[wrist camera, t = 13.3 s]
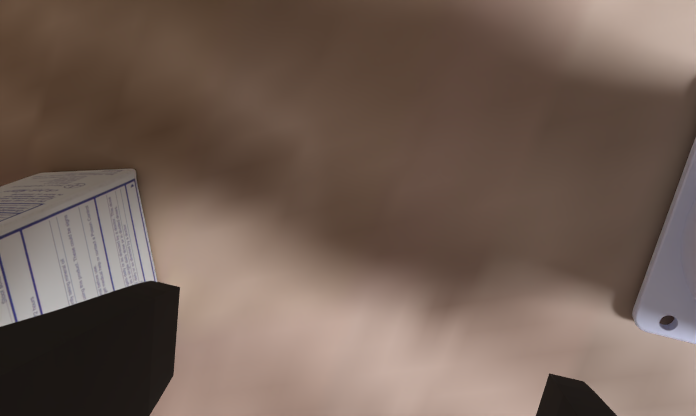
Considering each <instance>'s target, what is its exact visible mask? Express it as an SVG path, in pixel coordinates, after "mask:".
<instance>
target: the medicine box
mask: <svg viewBox="0 0 696 416" xmlns="http://www.w3.org/2000/svg"><path fill="white" fill-rule="evenodd" d="M147 281H155V282H157V278H156V272H155V267H154V262H153V258H152V253H151V248H150V243H149V238H148V233H147V228H146V223H145V219H144V214H143V209H142V204H141V199H140V195H139V190H138V185H137V179H136V170H135V169H110V170H88V171H67V172H45V173H39V174H35V175H32V176H29V177H26V178H23V179H21V180H18V181H15V182H12V183H9V184H6V185H3V186H0V327H1V326H5V325H8V324H11V323H15V322H18V321H22V320H25V319H28V318H32V317H35V316H38V315H42V314H45V313H49V312H52V311H55V310H58V309H62V308H65V307H68V306H71V305H74V304H77V303H80V302H83V301H86V300H89V299H92V298H95V297H98V296H101V295H104V294H107V293H110V292H113V291H116V290H119V289H122V288H125V287H128V286H131V285H135V284H138V283H142V282H147Z"/></svg>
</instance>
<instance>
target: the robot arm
mask: <svg viewBox="0 0 696 416" xmlns="http://www.w3.org/2000/svg"><path fill="white" fill-rule="evenodd" d="M179 291H180V287H177V286H172V285H168V284H164V283H160V282H155V281H147V282H142V283H138V284H135V285H131V286H128V287H125V288H122V289H119V290H116V291H113V292H110V293H107V294H104V295H101V296H98V297H95V298H92V299H89V300H86V301H83V302H80V303H77V304H74V305H71V306H68V307H65V308H62V309H58V310H55V311H52V312H49V313H45V314H42V315H38V316H35V317H32V318H28V319H25V320H22V321H18V322H15V323H11V324H8V325H5V326H1V327H0V416H149V415H150V414H151V412H152V410H153V409H154V407H155V405H156V404H157V402H158V401H159V399H160V397H161V396H162V394H163V392H164V390H165V389H166V387H167V385H168V384H169V382H170V380H171V378H172V377H173V373H174V359H175V346H176V332H177V319H178V305H179ZM632 316H633V319H634V322H635V324H636V325H637V326H638V327H639V328H640V329H641V330H643V331H645V332H649V333H653V334H657V335H661V336H665V337H669V338H673V339H677V340H681V341H685V342H689V343H693V344H696V137H695V140H694V143H693V146H692V148H691V151H690V154H689V157H688V159H687V162H686V165H685V168H684V170H683V173H682V176H681V179H680V181H679V184H678V187H677V190H676V192H675V195H674V198H673V201H672V203H671V206H670V209H669V212H668V214H667V217H666V220H665V223H664V225H663V228H662V231H661V234H660V236H659V239H658V242H657V245H656V247H655V250H654V253H653V256H652V259H651V261H650V264H649V267H648V270H647V272H646V275H645V278H644V281H643V283H642V286H641V289H640V292H639V294H638V297H637V300H636V303H635V305H634V308H633V313H632ZM664 316H673V317H674V320H673V321H672V323H670V324H667V325H662V324H660V323H659V322H660V320H661V318H662V317H664ZM536 416H617V415H616V414H615V413H614V412H613V411H612V410H611V409H610V408H609V407H608V406H607V405H606V404H605V402H604V401H603V400H602V399H601V398H600V397H599V396H598V395H597V394H596V393H595V392H594V391H593V390H592V389H591V388H590V387H589V386H588V385H587V384H586V383H585V382H583V381H579V380H575V379H571V378H566V377H562V376H558V375H553V374H549V376H548V379H547V383H546V386H545V389H544V392H543V395H542V398H541V402H540V405H539V408H538V411H537V414H536Z"/></svg>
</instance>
